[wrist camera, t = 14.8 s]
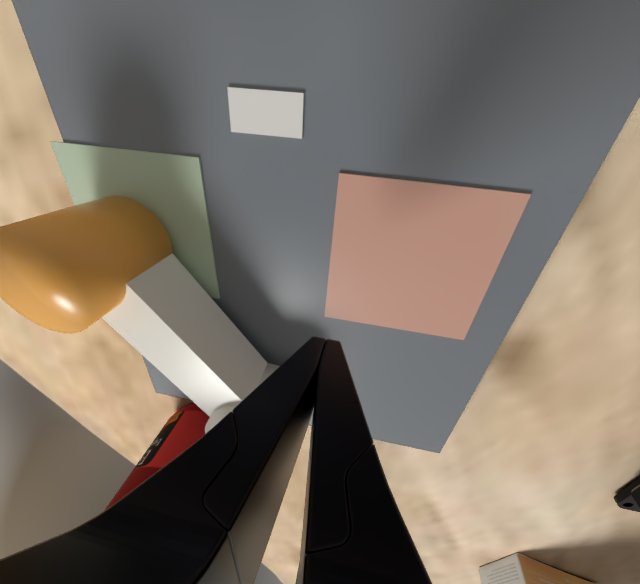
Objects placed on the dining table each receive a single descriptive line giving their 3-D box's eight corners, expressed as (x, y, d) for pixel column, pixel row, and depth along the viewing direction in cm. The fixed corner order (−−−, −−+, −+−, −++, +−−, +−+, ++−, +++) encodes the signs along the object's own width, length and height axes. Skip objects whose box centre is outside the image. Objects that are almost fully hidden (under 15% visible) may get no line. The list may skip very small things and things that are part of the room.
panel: (669, -42, 7) (744, -83, 6) (434, 427, 18) (439, 454, 16) (26, -55, 9) (-40, -87, 8) (164, 372, 20) (147, 392, 18)
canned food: (167, 389, 21) (0, 604, 12) (271, 416, 20) (181, 664, 11) (180, 444, 25) (64, 635, 16) (267, 468, 24) (198, 680, 15)
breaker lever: (324, 408, 15) (309, 488, 12) (264, 422, 17) (236, 496, 14) (128, 171, 10) (7, 197, 7) (71, 227, 12) (-47, 268, 9)
